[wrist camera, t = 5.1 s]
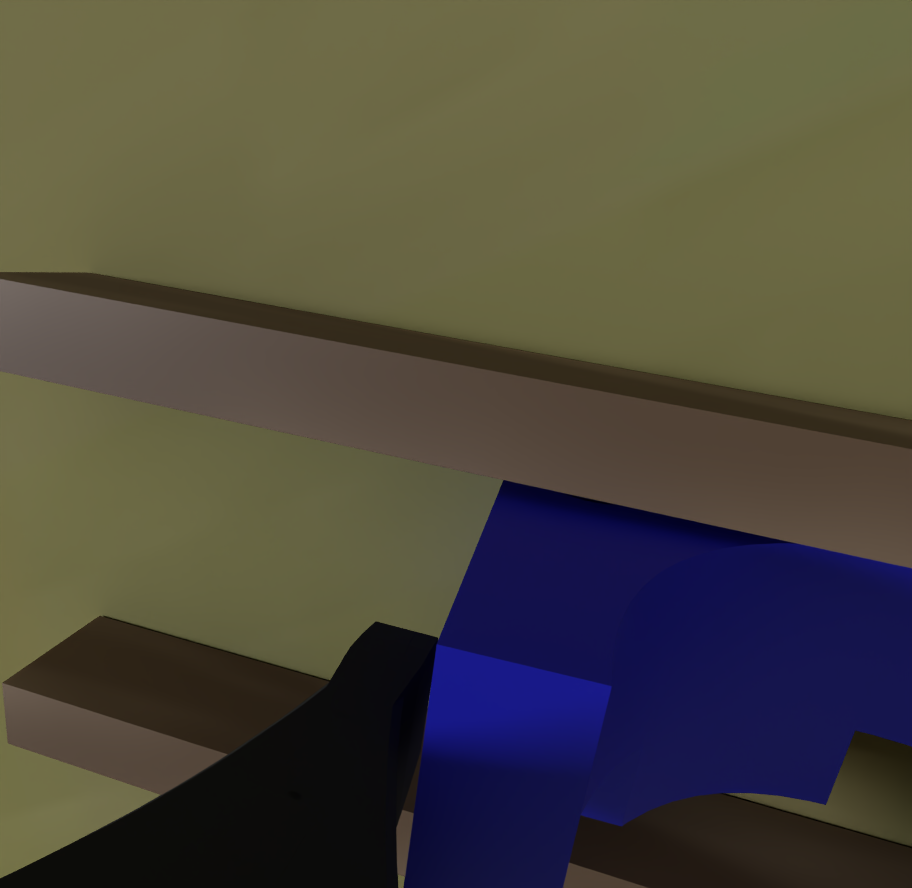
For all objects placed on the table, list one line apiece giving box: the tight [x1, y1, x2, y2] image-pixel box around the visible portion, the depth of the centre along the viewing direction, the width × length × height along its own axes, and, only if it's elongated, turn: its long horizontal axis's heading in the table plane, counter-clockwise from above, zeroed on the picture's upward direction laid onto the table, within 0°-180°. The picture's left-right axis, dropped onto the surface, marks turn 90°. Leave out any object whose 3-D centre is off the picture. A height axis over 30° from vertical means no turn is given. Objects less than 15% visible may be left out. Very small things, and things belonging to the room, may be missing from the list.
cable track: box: [0, 272, 912, 888], centre depth 9 cm, size 9×24×4 cm, turn 81°
